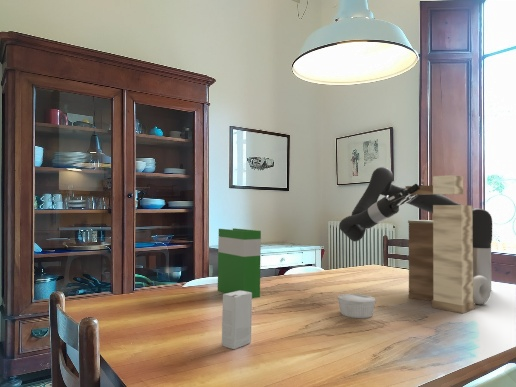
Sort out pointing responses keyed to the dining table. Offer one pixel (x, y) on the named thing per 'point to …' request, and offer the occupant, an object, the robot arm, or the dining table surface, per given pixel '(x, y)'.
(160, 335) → the dining table surface
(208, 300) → the dining table surface
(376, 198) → the robot arm
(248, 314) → the skincare box
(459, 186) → the brown tan long block
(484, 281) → the donut
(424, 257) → the cream-topped wooden box
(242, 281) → the green cereal box
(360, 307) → the ramekin
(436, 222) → the wooden block
